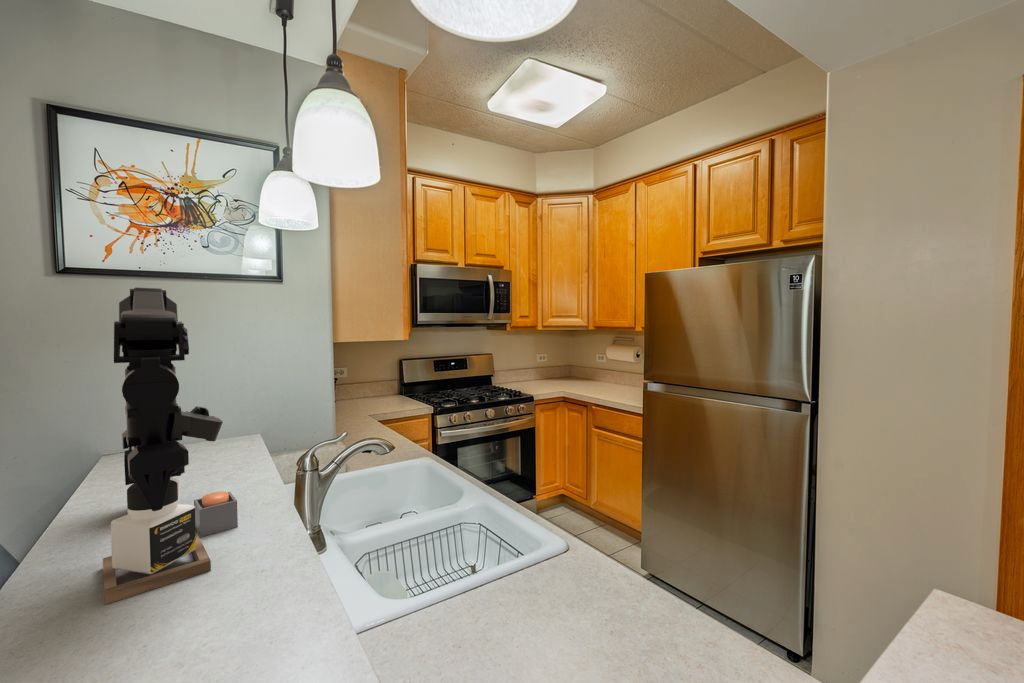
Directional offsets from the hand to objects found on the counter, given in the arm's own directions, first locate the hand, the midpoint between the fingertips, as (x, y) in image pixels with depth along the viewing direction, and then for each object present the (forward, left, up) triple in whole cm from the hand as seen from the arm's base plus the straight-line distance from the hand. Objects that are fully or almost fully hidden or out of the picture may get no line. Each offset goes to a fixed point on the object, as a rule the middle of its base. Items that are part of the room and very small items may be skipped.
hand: (154, 502), depth 65 cm
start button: (-10, +9, -7) cm, 15 cm away
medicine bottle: (0, 0, -9) cm, 9 cm away
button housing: (-10, +9, -10) cm, 17 cm away
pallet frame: (0, 0, -10) cm, 10 cm away
